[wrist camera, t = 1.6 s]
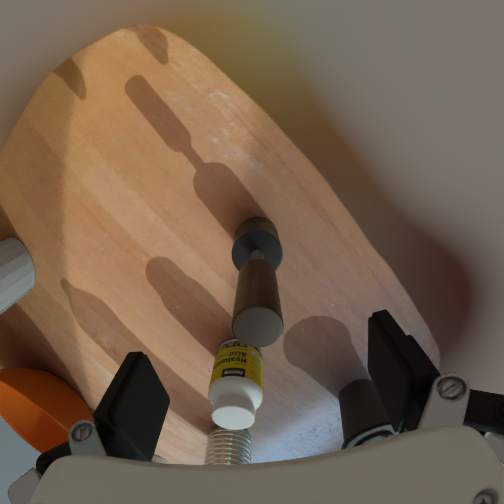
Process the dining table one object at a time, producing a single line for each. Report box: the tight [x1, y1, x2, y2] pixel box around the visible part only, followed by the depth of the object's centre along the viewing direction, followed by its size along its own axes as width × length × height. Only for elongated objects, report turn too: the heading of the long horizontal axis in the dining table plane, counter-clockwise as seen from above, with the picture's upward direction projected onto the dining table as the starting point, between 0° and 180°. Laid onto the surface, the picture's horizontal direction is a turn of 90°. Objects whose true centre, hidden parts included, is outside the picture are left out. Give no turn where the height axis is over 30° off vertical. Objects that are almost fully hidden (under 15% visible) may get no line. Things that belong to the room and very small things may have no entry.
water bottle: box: [204, 426, 252, 465], centre depth 25 cm, size 7×7×25 cm
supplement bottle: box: [208, 339, 263, 430], centre depth 27 cm, size 5×5×10 cm
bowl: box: [0, 368, 94, 453], centre depth 32 cm, size 25×25×10 cm
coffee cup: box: [339, 379, 399, 450], centre depth 29 cm, size 8×8×10 cm
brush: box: [232, 217, 283, 347], centre depth 20 cm, size 4×4×15 cm
